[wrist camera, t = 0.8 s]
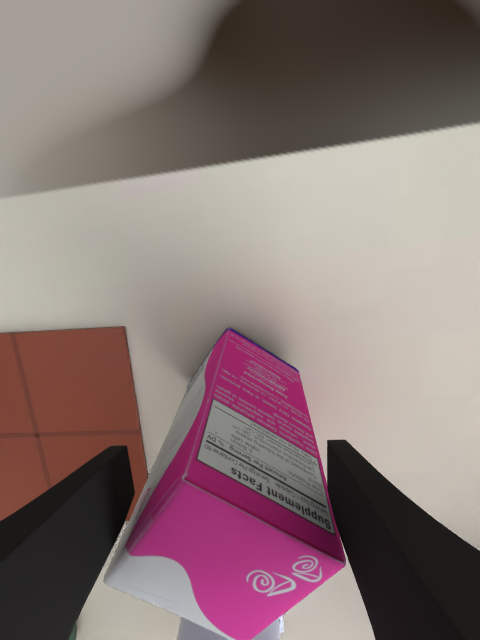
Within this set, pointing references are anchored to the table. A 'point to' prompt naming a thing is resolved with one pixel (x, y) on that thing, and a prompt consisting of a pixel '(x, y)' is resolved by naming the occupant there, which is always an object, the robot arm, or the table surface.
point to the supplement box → (233, 500)
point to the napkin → (64, 409)
